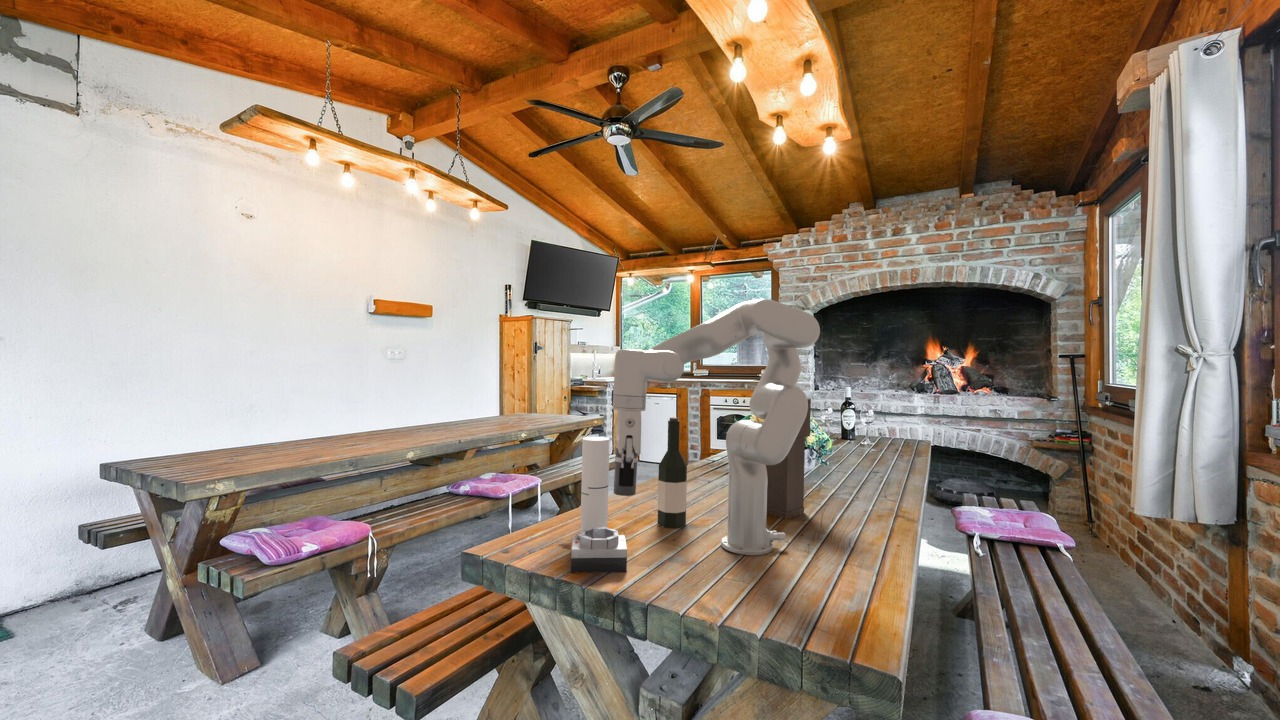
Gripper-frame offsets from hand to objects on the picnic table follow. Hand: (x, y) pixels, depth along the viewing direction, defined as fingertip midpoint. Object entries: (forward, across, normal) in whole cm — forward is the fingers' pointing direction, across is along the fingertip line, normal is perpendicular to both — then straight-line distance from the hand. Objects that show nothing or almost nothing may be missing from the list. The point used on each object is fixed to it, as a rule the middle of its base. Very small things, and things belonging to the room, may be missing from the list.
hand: (625, 482), depth 120 cm
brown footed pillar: (+17, +42, -50) cm, 68 cm away
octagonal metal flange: (+19, 0, +5) cm, 19 cm away
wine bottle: (+18, +28, -16) cm, 37 cm away
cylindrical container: (+19, +22, +6) cm, 29 cm away
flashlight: (+2, 0, 0) cm, 2 cm away
